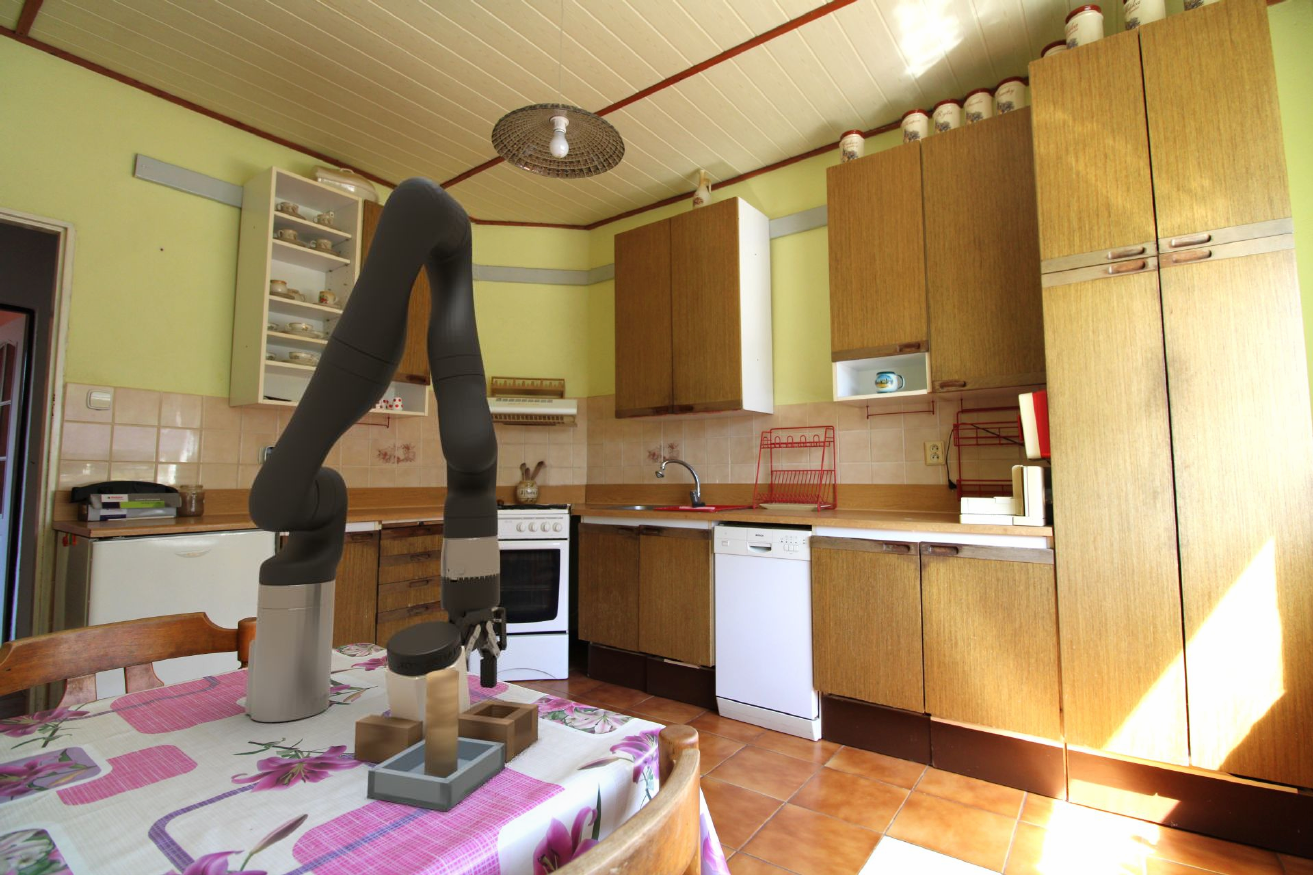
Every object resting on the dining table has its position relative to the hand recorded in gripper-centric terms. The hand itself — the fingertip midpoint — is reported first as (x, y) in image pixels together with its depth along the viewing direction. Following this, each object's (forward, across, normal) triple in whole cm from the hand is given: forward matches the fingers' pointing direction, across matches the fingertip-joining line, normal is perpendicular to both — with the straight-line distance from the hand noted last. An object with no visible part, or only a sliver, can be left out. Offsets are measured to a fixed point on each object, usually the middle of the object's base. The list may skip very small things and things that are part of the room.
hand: (470, 697), depth 82 cm
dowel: (+2, +17, +8) cm, 18 cm away
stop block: (+3, +14, -2) cm, 14 cm away
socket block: (+3, +7, +8) cm, 11 cm away
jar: (+2, +7, 0) cm, 8 cm away
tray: (+3, +17, +8) cm, 19 cm away
